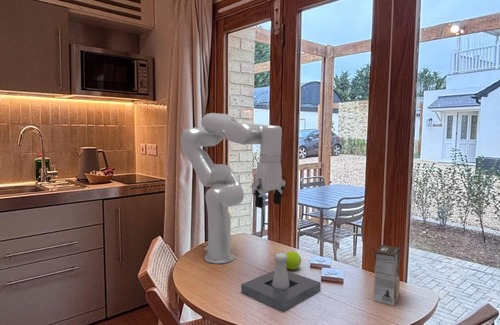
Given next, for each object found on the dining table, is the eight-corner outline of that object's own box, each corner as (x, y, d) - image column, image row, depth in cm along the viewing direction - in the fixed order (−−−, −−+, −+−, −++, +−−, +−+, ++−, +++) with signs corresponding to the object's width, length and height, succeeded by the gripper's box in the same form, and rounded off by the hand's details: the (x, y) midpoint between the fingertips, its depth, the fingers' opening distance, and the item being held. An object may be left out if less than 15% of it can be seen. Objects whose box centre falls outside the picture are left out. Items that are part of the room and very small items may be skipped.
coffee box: (379, 290, 117) (380, 244, 116) (399, 294, 114) (401, 247, 113) (373, 300, 109) (374, 251, 108) (394, 306, 106) (396, 255, 105)
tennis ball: (283, 272, 133) (283, 254, 132) (283, 265, 140) (283, 248, 139) (301, 272, 132) (301, 255, 132) (300, 266, 139) (300, 249, 139)
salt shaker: (288, 296, 112) (288, 257, 111) (271, 294, 113) (271, 256, 112) (290, 288, 118) (290, 251, 117) (273, 287, 119) (273, 250, 118)
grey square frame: (241, 292, 115) (241, 284, 115) (279, 276, 129) (279, 268, 129) (283, 312, 102) (283, 302, 102) (320, 291, 116) (320, 282, 116)
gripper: (278, 157, 133) (276, 200, 135) (245, 159, 122) (243, 206, 123) (293, 159, 128) (290, 204, 130) (260, 161, 116) (258, 211, 118)
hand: (268, 205), depth 127 cm, fingers open, 9 cm apart
